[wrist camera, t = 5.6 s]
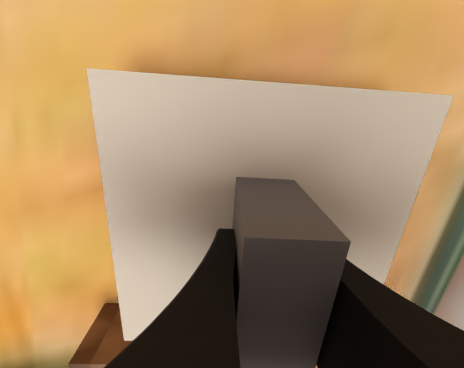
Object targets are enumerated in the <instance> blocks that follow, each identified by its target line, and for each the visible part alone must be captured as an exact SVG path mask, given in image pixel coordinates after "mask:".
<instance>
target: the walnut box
mask: <svg viewBox="0 0 464 368" xmlns="http://www.w3.org/2000/svg"><path fill="white" fill-rule="evenodd" d="M131 342H132V341H124V337H123V329H122V322H121V315H120V308H119V304H104V306H103V308H102V309H101V311H100V313H99V314H98V316H97V318H96V319H95V321H94V323H93V324H92V326H91V328H90V329H89V331H88V332H87V334H86V336H85V337H84V339H83V341H82V342H81V344H80V346H79V347H78V349H77V351H76V352H75V354H74V356H73V357H72V359H71V361H70V362H69V367H70V368H104V367H105V366H106V365H107V364H108V363H109V362H110V361H111V360H112V359H113V358H115V357H116V356H117V355H118V354H119V353H120V352H121V351H122V350H123V349H124V348H125V347H126V346H128V345H129V344H130V343H131Z"/></svg>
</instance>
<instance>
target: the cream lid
mask: <svg viewBox="0 0 464 368" xmlns="http://www.w3.org/2000/svg"><path fill="white" fill-rule="evenodd" d="M87 75H88V82H89V89H90V96H91V104H92V111H93V118H94V126H95V133H96V140H97V147H98V155H99V162H100V169H101V177H102V184H103V191H104V198H105V206H106V213H107V220H108V228H109V235H110V242H111V249H112V257H113V264H114V271H115V279H116V286H117V293H118V300H119V308H120V315H121V322H122V329H123V337H124V341H133V340H134V339H135V338H136V337H137V336H138V335H139V334H140V333H142V332H143V331H144V330H145V329H146V328H147V327H148V326H149V325H150V324H151V322H152V321H153V320H154V319H155V318H156V317H157V316H158V315H159V314H160V313H161V312H162V311H163V310H164V309H165V308H166V306H167V305H168V304H169V303H170V302H171V301H172V300H173V299H174V297H175V296H176V295H177V294H178V293H179V291H180V290H181V289H182V288H183V287H184V285H185V284H186V283H187V281H188V280H189V279H190V277H191V276H192V274H193V273H194V272H195V270H196V269H197V267H198V266H199V264H200V263H201V261H202V260H203V258H204V256H205V255H206V253H207V251H208V250H209V248H210V246H211V244H212V242H213V240H214V238H215V235H216V231H217V230H218V229H220V228H223V229H234V231H235V237H236V250H235V262H234V276H233V286H234V301H235V314H236V326H237V338H238V348H239V359H240V368H315V367H316V363H317V360H318V356H319V353H320V349H321V346H322V342H323V339H324V335H325V332H326V328H327V325H328V321H329V318H330V314H331V311H332V307H333V304H334V300H335V297H336V293H337V290H338V286H339V282H340V279H341V275H342V272H343V268H344V265H345V261H346V259H347V260H348V261H350V262H351V263H353V264H354V265H355V266H357V267H358V268H360V269H361V270H362V271H364V272H365V273H367V274H368V275H370V276H371V277H373V278H374V279H376V280H377V281H379V282H380V283H382V284H383V285H384V283H385V280H386V277H387V275H388V272H389V269H390V266H391V264H392V261H393V258H394V256H395V253H396V250H397V247H398V245H399V242H400V239H401V237H402V234H403V231H404V229H405V226H406V223H407V220H408V218H409V215H410V212H411V210H412V207H413V204H414V201H415V199H416V196H417V193H418V191H419V188H420V185H421V182H422V180H423V177H424V174H425V172H426V169H427V166H428V163H429V161H430V158H431V155H432V153H433V150H434V147H435V145H436V142H437V139H438V136H439V134H440V131H441V128H442V126H443V123H444V120H445V117H446V115H447V112H448V109H449V107H450V104H451V101H452V98H453V96H454V95H440V94H427V93H413V92H400V91H386V90H373V89H359V88H346V87H332V86H319V85H305V84H292V83H278V82H265V81H251V80H238V79H224V78H211V77H197V76H184V75H170V74H157V73H143V72H130V71H116V70H103V69H89V68H87Z"/></svg>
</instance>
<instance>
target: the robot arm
mask: <svg viewBox="0 0 464 368" xmlns="http://www.w3.org/2000/svg"><path fill="white" fill-rule="evenodd" d="M235 250H236V237H235V231H234V229H223V228H220V229H218V230H217V231H216V235H215V238H214V240H213V242H212V244H211V246H210V248H209V250H208V251H207V253H206V255H205V256H204V258H203V260H202V261H201V263H200V264H199V266H198V267H197V269H196V270H195V272H194V273H193V274H192V276H191V277H190V279H189V280H188V281H187V283H186V284H185V285H184V287H183V288H182V289H181V290H180V291H179V293H178V294H177V295H176V296H175V297H174V299H173V300H172V301H171V302H170V303H169V304H168V305H167V306H166V308H165V309H164V310H163V311H162V312H161V313H160V314H159V315H158V316H157V317H156V318H155V319H154V320H153V321H152V322H151V324H150V325H149V326H148V327H147V328H146V329H145V330H144V331H143V332H142V333H140V334H139V335H138V336H137V337H136V338H135V339H134V340H133V341H132V342H131V343H130V344H129V345H128V346H126V347H125V348H124V349H123V350H122V351H121V352H120V353H119V354H118V355H117V356H116V357H115V358H113V359H112V360H111V361H110V362H109V363H108V364H107V365H106V366H105V367H104V368H240V359H239V348H238V338H237V326H236V314H235V301H234V286H233V276H234V262H235ZM316 364H317V367H318V368H464V331H463V330H461V329H459V328H457V327H455V326H453V325H451V324H450V323H448V322H446V321H444V320H442V319H440V318H438V317H437V316H435V315H433V314H431V313H429V312H428V311H426V310H424V309H423V308H421V307H419V306H417V305H416V304H414V303H412V302H411V301H409V300H407V299H406V298H404V297H402V296H401V295H399V294H397V293H396V292H394V291H393V290H391V289H389V288H388V287H386V286H385V285H383V284H382V283H380V282H379V281H377V280H376V279H374V278H373V277H371V276H370V275H368V274H367V273H365V272H364V271H362V270H361V269H360V268H358V267H357V266H355V265H354V264H353V263H351V262H350V261H348V260H347V259H346V261H345V265H344V268H343V272H342V275H341V279H340V282H339V286H338V290H337V293H336V297H335V300H334V304H333V307H332V311H331V314H330V318H329V321H328V325H327V328H326V332H325V335H324V339H323V342H322V346H321V349H320V353H319V356H318V360H317V363H316Z"/></svg>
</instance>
